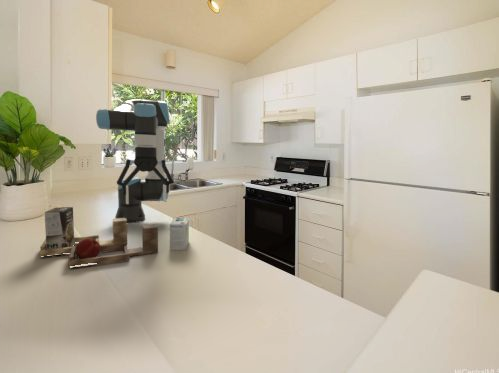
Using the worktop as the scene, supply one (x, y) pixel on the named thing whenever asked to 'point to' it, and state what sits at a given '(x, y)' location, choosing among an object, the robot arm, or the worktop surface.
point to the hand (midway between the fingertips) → (146, 202)
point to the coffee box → (59, 228)
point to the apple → (87, 248)
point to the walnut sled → (148, 247)
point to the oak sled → (118, 237)
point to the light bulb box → (179, 233)
